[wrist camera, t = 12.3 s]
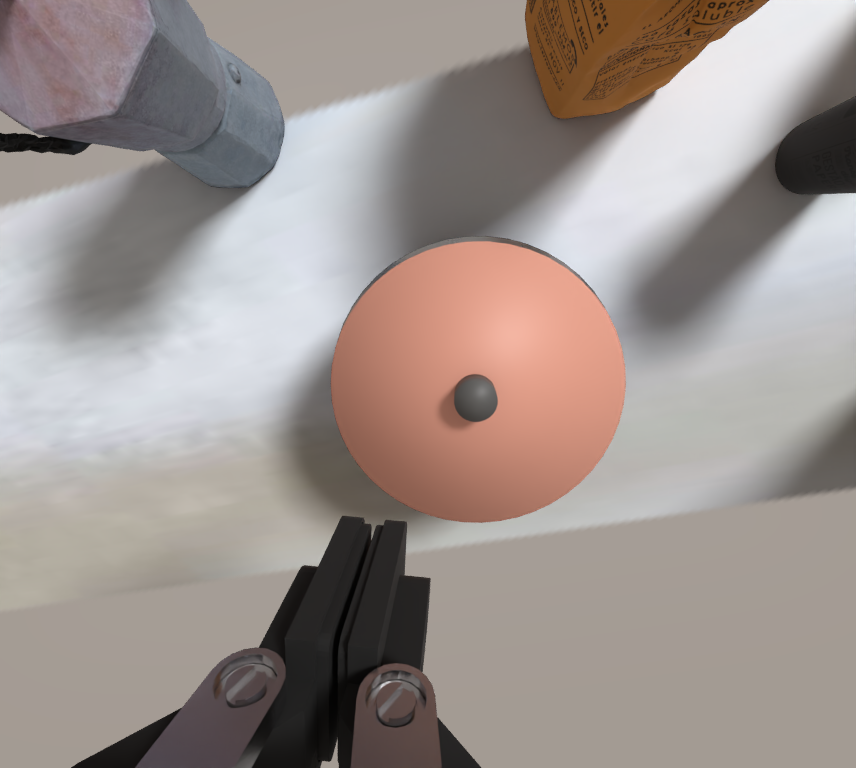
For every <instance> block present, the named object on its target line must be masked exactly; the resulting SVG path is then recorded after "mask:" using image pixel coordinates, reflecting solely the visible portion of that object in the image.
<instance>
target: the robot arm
mask: <svg viewBox="0 0 856 768" xmlns="http://www.w3.org/2000/svg"><path fill="white" fill-rule="evenodd" d="M406 533H407V522H403V521H392V520H385V523H384V525H377V526H376V529H375V532H374V535H373V538H372V541H371V524H365V523H364V518H360V517H350V516H342V517H341V519H340V521H339V523H338V526H337V528H336V530H335V532H334V534H333V536H332V538H331V541H330V543H329V545H328V547H327V549H326V551H325V553H324V556H323V558H322V560H321V562H320V564H319V566H318V567H315V566H306V565H304V566H302V567H301V569H300V570H299V572H298V574H297V576H296V578H295V580H294V581H293V583H292V585H291V587H290V589H289V591H288V593H287V595H286V597H285V599H284V600H283V602H282V604H281V606H280V608H279V610H278V612H277V614H276V616H275V618H274V620H273V621H272V623H271V625H270V627H269V629H268V631H267V633H266V635H265V637H264V639H263V641H262V643H261V645H260V646H259V648H249V649H243V650H241V651H238V652H236V653H233V654H231V655H230V656H228V657H226V658H225V659H223V660H222V661H221V662H219V664H217V666H216V667H214V668H213V669H212V671H211V672H210V673H209V674H208V676H207V677H206V678H205V680H204V681H203V682H202V683H201V685H200V686H199V687H198V688H197V690H196V691H195V692H194V694H193V695H192V696H191V697H190V699H189V700H188V701H187V702H186V704H185V705H184V706H183V707H182V708H180V709H178V710H177V711H175V712H173V713H171V714H169V715H167V716H166V717H164V718H162V719H160V720H158V721H156V722H154V723H152V724H150V725H148V726H147V727H145V728H143V729H141V730H139V731H137V732H135V733H133V734H132V735H130V736H128V737H126V738H124V739H122V740H121V741H119V742H117V743H115V744H113V745H111V746H110V747H107V748H105V749H104V750H102V751H100V752H98V753H96V754H95V755H92V756H90V757H89V758H87V759H85V760H83V761H81V762H79V763H77V764H76V765H75V766H73V767H71V768H320V766H321V763H322V761H331V759H332V756H333V753H334V749H335V745H336V741H337V738H338V763H339V768H481V767H480V766H479V764H478V763H477V762H476V761H475V760H474V759H473V758H472V756H471V755H470V754H469V753H468V752H467V751H466V750H465V748H464V747H463V746H462V745H461V744H460V743H459V741H458V740H457V739H456V738H455V737H454V736H453V734H452V733H451V732H450V731H449V730H448V729H447V728H446V726H445V725H444V724H443V723H442V722H441V721H440V720H439V718H438V717H437V710H436V699H435V693H434V689H433V686H432V684H431V682H430V681H429V679H428V678H427V676H426V675H425V674H423V673H422V672H423V662H424V652H425V643H426V633H427V622H428V609H429V594H430V578H424V577H414V576H405V575H404V574H405V553H406Z"/></svg>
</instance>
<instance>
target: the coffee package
mask: <svg viewBox="0 0 856 768" xmlns="http://www.w3.org/2000/svg"><path fill="white" fill-rule="evenodd" d="M768 1H769V0H527V4H526V12H525V21H526V30H527V38H528V42H529V47H530V51H531V55H532V58H533V62H534V66H535V70H536V73H537V75H538V78H539V81H540V85H541V88H542V91H543V94H544V97H545V100H546V102H547V105H548V107H549V110H550V112H551V114H552V115H553V116H554V117H557V118H562V119H568V118H573V117H579V116H590V115H597V114H604V113H609V112H613V111H616V110H619V109H621V108H622V107H624V106H626V105H627V104H629V103H632V102H634V101H637V100H639V99H641V98H643V97H645V96H647V95H649V94H650V93H652V92H654V91H655V90H657V89H659V88H661V87H663V86H665V85H666V84H668V83H669V82H670V81H671V80H672V79H673V77H675V76H676V75H677V74H678V73H679V72H680V70H681V69H683V68H684V67H685V66H686V65H687V64H689V63H690V62H691V61H692V60H694V59H695V58H696V57H697V56H698V55H699V53H700V52H701V51H702V50H703V49H704V48H705V47H706V46H707V45H708V44H709V43H710V42H713V41H715V40H718V39H720V38H722V37H723V36H725V35H726V34H727V33H728V31H729V30H730V29H731V28H732V27H734V26H735V25H737V24H738V23H740V22H742V21H743V20H745V19H747V18H748V17H749V16H751V15H752V14H753V13H754V12H756V11H757V10H758V9H759V8H761V7H762V6H763V5H764V4H766V3H767V2H768Z"/></svg>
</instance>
